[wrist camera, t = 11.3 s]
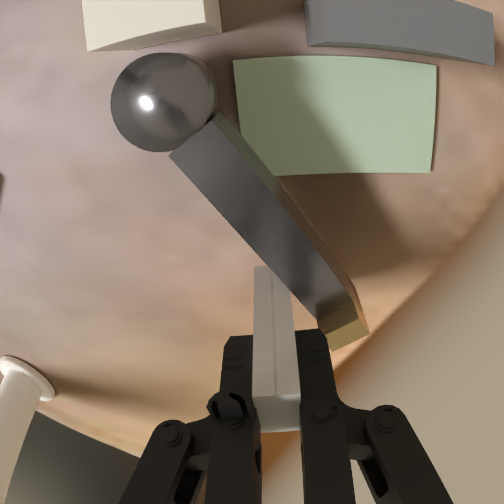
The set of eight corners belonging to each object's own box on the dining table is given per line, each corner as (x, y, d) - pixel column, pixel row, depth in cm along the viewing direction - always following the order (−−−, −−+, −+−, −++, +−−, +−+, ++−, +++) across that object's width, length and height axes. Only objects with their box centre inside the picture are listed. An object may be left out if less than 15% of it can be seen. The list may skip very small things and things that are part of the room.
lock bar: (117, 94, 10) (77, 108, 8) (180, 35, 9) (153, 29, 6) (311, 310, 16) (318, 357, 13) (367, 280, 15) (384, 326, 12)
